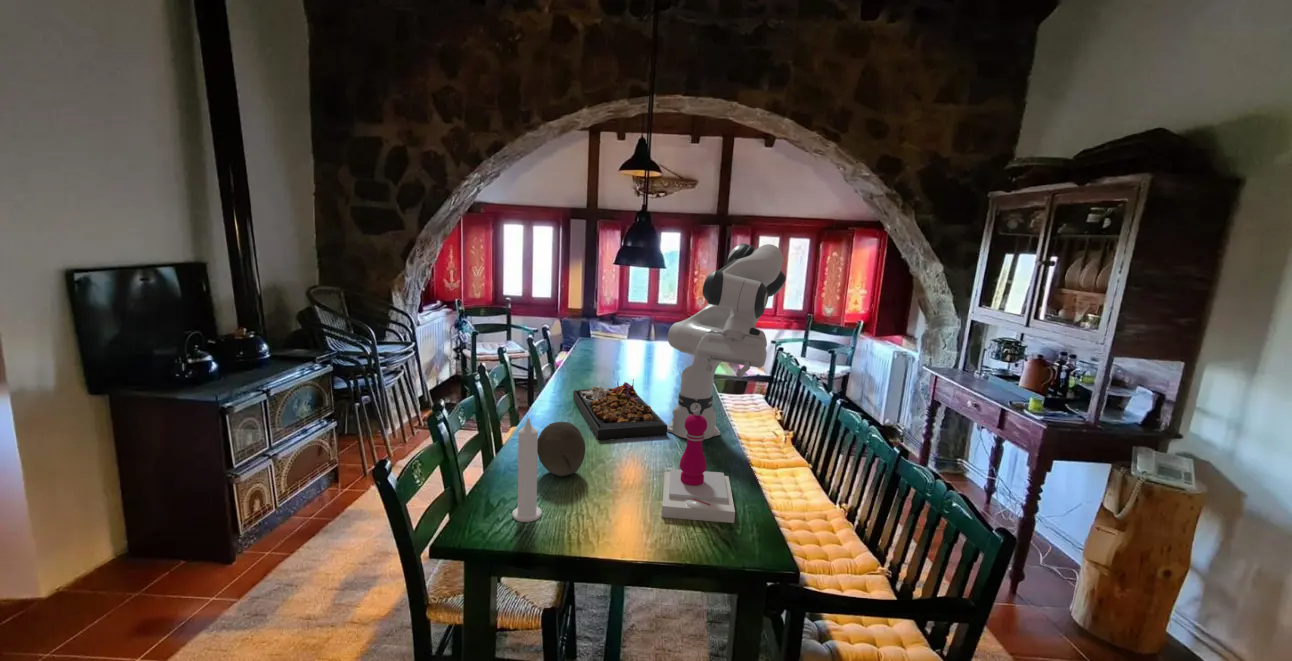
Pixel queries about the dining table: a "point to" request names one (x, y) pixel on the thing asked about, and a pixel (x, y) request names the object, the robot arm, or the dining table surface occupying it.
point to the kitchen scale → (698, 498)
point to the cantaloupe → (561, 448)
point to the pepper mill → (694, 450)
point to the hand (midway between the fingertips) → (723, 373)
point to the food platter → (618, 413)
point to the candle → (527, 475)
